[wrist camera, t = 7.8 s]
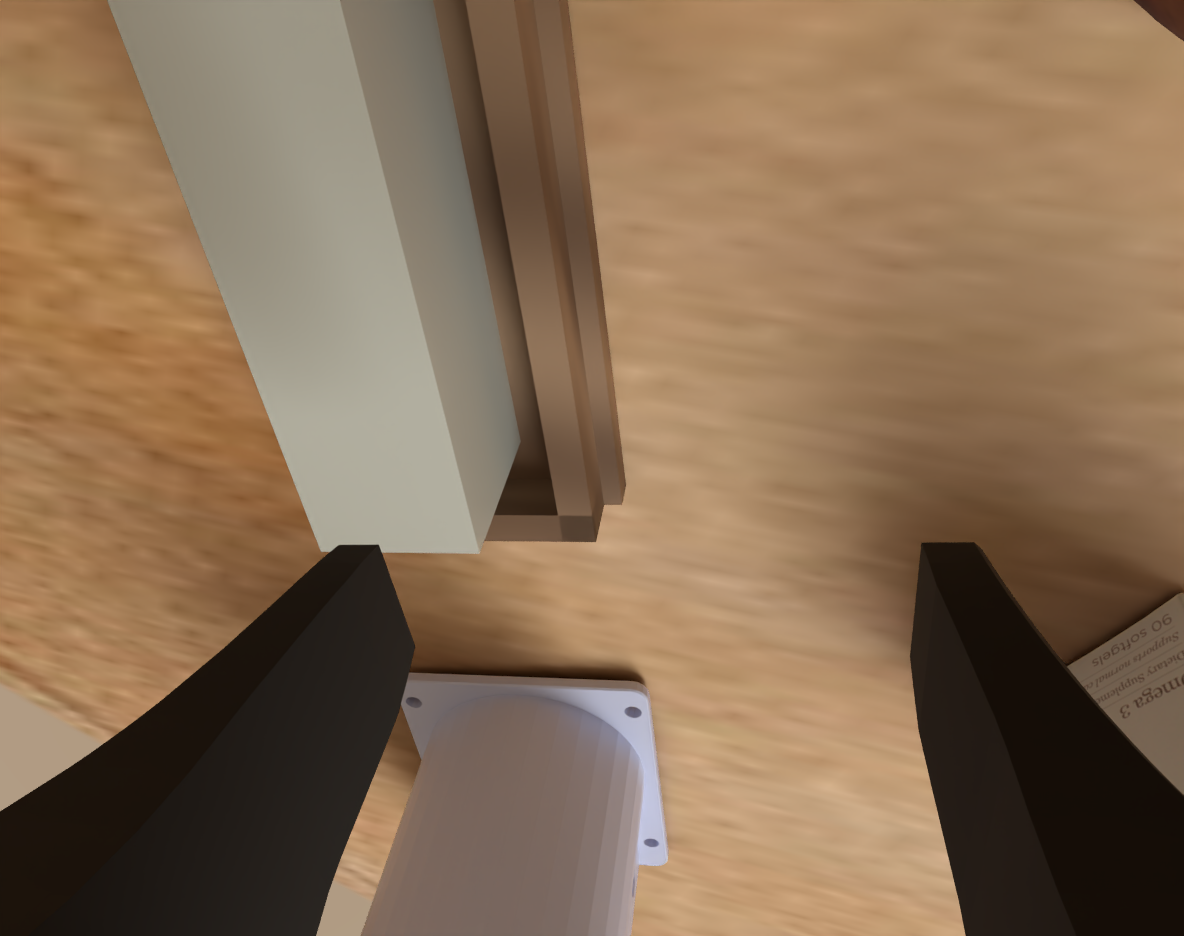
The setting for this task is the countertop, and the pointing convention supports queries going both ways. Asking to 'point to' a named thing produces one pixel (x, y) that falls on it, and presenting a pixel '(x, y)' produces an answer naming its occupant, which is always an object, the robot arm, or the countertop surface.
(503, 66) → the tray
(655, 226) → the countertop surface
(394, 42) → the grey rectangular block
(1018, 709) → the robot arm
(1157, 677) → the supplement box
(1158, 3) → the wafer roll
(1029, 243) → the countertop surface
